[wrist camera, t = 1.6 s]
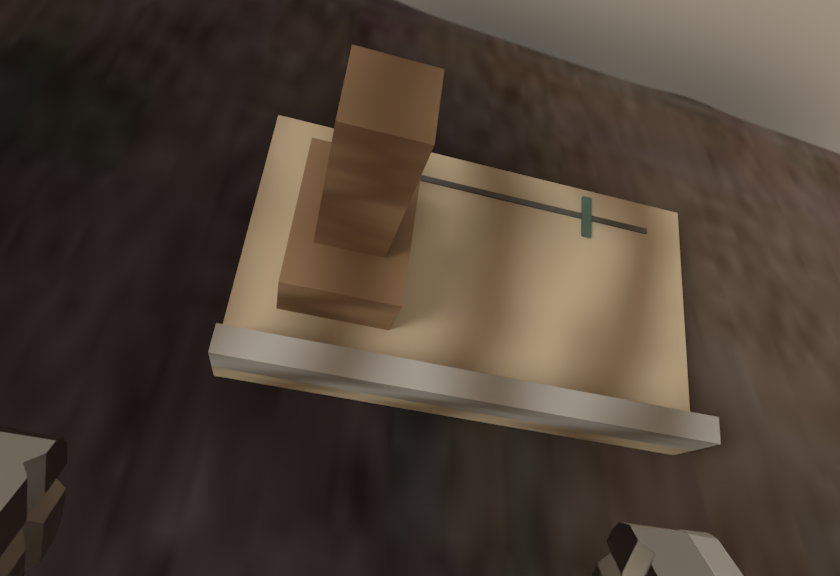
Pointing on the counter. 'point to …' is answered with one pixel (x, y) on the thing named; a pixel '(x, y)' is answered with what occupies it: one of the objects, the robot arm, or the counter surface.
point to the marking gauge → (363, 194)
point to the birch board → (486, 309)
